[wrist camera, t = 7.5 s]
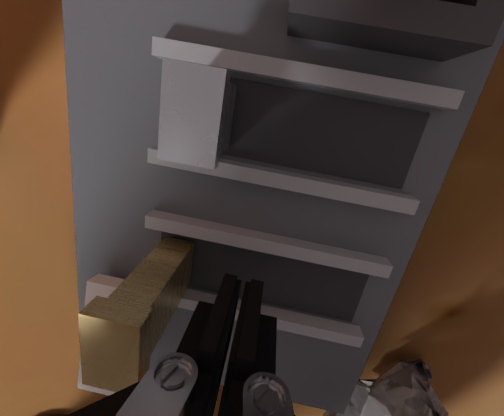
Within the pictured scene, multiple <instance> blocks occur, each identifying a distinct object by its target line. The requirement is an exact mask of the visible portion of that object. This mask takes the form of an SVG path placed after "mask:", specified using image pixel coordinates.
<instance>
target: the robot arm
mask: <svg viewBox="0 0 504 416" xmlns="http://www.w3.org/2000/svg"><path fill="white" fill-rule="evenodd" d="M237 277H238V276H236V275H232V274H227V273H225V275H224V277H223V280H222V283H221V286H220V288H219V291H218V294H217V297H216V299H215V302H214V304H213V303H208V302H203V301H199V302H198V304H197V306H196V308H195V311H194V313H193V315H192V317H191V320H190V322H189V324H188V326H187V328H186V331H185V333H184V335H183V337H182V340H181V342H180V344H179V346H178V348H177V351H176V352H174V353H168V354H165V355H163V356H161V357H160V358H158V359H157V360H156V361H155V362H154V363H153V364H152V365H151V367H150V368H149V370H148V371H147V372H146V374H145V375H144V377H143V378H142V379H141V381H139V382H137V383H135V384H132V385H130V386H128V387H126V388H124V389H122V390H120V391H118V392H116V393H114V394H111V395H109V396H107V397H105V398H103V399H101V400H99V401H97V402H95V403H93V404H90V405H88V406H86V407H84V408H82V409H80V410H78V411H76V412H74V413H72V414H69V415H68V416H213V413H214V408H215V404H216V400H217V395H218V391H219V387H220V383H221V378H222V374H223V370H224V365H225V361H226V357H227V352H228V348H229V344H230V339H231V335H232V330H233V325H234V319H235V314H236V309H237V303H238V298H239V293H240V288H241V282H242V280H238V279H237ZM263 286H264V281H260V280H255V279H251V282H248V281H246V282H245V287H244V292H243V296H242V301H241V305H240V310H239V314H238V319H237V323H236V328H235V332H234V337H233V342H232V346H231V351H230V355H229V360H228V365H227V371H226V376H225V381H224V386H223V391H222V397H221V402H220V407H219V412H218V416H295V415H294V411H293V406H292V400H291V395H290V392H289V389H288V387H287V386H286V384H285V383H284V381H282V380H281V379H280V378H279V377H278V376H276V338H277V317H273V316H268V315H263V314H260V313H261V304H262V295H263Z"/></svg>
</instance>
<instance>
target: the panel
mask: <svg viewBox="0 0 504 416" xmlns="http://www.w3.org/2000/svg"><path fill="white" fill-rule="evenodd" d="M62 12H63V30H64V48H65V65H66V83H67V100H68V118H69V135H70V153H71V171H72V188H73V206H74V223H75V241H76V259H77V276H78V294H79V311H81V310H82V309H83V308H84V306H85V295H86V284H87V281H88V280H89V279H91V278H92V277H94V276H96V275H97V274H103V275H107V276H112V277H116V278H121V279H126V278H127V277H128V275H129V274H130V273H131V272H132V271H133V270H134V269H135V268H136V267H137V266H138V265H139V264H140V263H141V262H142V261H143V260H144V259H145V258H146V257H147V256H148V255H149V254H150V252H151V251H152V250H153V249H154V248H155V247H156V246H157V245H158V244H159V243H160V242H161V241H162V240H163V239H164V238H165V237H171V238H176V239H180V240H185V241H190V242H194V251H193V260H192V269H191V278H190V285H189V287H188V289H187V290H186V292H185V294H184V296H183V298H182V300H181V301H180V303H179V305H178V307H177V309H176V311H175V312H174V314H173V316H172V318H171V320H170V321H169V323H168V325H167V327H166V329H165V331H164V332H163V334H162V336H161V338H160V340H159V341H158V343H157V345H156V347H155V349H154V351H153V352H152V354H151V356H150V367H151V365H152V364H153V363H154V362H155V361H156V360H157V359H158V358H160V357H161V356H163V355H165V354H168V353H174V352H176V351H177V348H178V346H179V344H180V342H181V340H182V337H183V335H184V333H185V331H186V328H187V326H188V324H189V322H190V320H191V317H192V315H193V313H194V311H195V308H196V306H197V304H198V302H199V301H203V302H208V303H213V304H214V302H215V299H216V297H217V294H218V291H219V288H220V286H221V283H222V280H223V277H224V275H225V273H227V274H232V275H236V276H238V277H237V279H238V280H242V282H241V288H240V293H239V298H238V303H237V309H236V314H235V319H234V325H233V330H232V335H231V339H230V344H229V348H228V352H227V357H226V361H225V365H224V370H223V374H222V378H221V383H220V385H221V386H224V381H225V376H226V371H227V365H228V360H229V355H230V351H231V346H232V342H233V337H234V332H235V328H236V323H237V319H238V314H239V310H240V305H241V301H242V296H243V292H244V287H245V282H246V281H248V282H251V279H255V280H260V281H264V286H263V295H262V304H261V313H260V314H263V315H268V316H273V317H277V338H276V376H278V377H279V378H280V379H281V380H282V381H284V383H285V384H286V386H287V387H288V389H289V392H290V395H291V400H292V402H294V403H298V404H303V405H307V406H311V407H316V408H320V409H324V410H328V411H333V412H337V413H341V414H344V413H345V410H346V408H347V406H348V403H349V401H350V399H351V396H352V394H353V392H354V389H355V387H356V385H357V382H358V380H359V378H360V375H361V373H362V371H363V368H364V366H365V364H366V361H367V359H368V357H369V354H370V352H371V350H372V347H373V345H374V343H375V340H376V338H377V336H378V333H379V331H380V329H381V326H382V324H383V321H384V319H385V317H386V314H387V312H388V310H389V307H390V305H391V303H392V300H393V298H394V296H395V293H396V291H397V289H398V286H399V284H400V282H401V279H402V277H403V275H404V272H405V270H406V268H407V265H408V263H409V261H410V258H411V256H412V254H413V251H414V249H415V247H416V244H417V242H418V240H419V237H420V235H421V233H422V230H423V228H424V226H425V223H426V221H427V219H428V216H429V214H430V212H431V209H432V207H433V205H434V202H435V200H436V198H437V195H438V193H439V191H440V188H441V186H442V184H443V181H444V179H445V177H446V174H447V172H448V170H449V167H450V165H451V163H452V160H453V158H454V156H455V153H456V151H457V149H458V146H459V144H460V142H461V139H462V137H463V135H464V132H465V130H466V127H467V125H468V123H469V120H470V118H471V116H472V113H473V111H474V109H475V106H476V104H477V102H478V99H479V97H480V95H481V92H482V90H483V88H484V85H485V83H486V81H487V78H488V76H489V74H490V71H491V69H492V67H493V64H494V62H495V60H496V57H497V55H498V53H499V50H500V48H501V46H502V43H503V41H504V0H62ZM162 58H167V59H173V60H178V61H184V62H190V63H195V64H201V65H206V66H212V67H218V68H223V69H227V70H229V71H230V72H231V75H230V83H232V84H234V85H236V86H237V93H236V100H235V107H234V114H233V121H232V128H231V135H230V142H229V149H228V150H226V151H225V152H223V153H222V154H220V158H219V166H218V167H217V168H216V169H215V170H212V169H207V168H202V167H196V166H191V165H186V164H181V163H176V162H171V161H166V160H161V159H157V152H158V133H159V114H160V95H161V76H162ZM150 367H149V368H150Z"/></svg>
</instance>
